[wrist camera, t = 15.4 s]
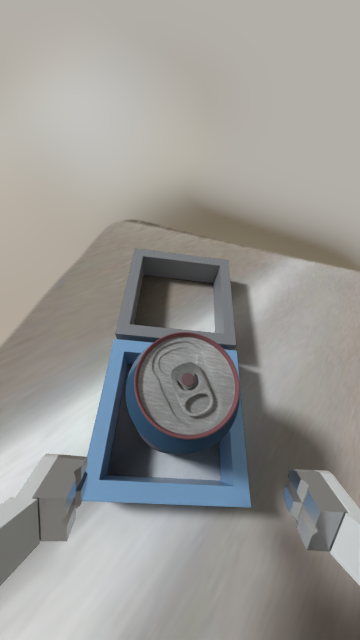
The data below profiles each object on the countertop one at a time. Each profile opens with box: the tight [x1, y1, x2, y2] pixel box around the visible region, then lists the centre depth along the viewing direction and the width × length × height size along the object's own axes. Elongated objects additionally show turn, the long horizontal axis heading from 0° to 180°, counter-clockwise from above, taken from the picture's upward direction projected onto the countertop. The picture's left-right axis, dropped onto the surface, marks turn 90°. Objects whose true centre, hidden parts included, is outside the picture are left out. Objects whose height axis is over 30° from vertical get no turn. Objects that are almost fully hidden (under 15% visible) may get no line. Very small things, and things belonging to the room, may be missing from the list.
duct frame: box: [82, 248, 251, 508], centre depth 24 cm, size 12×25×4 cm, turn 177°
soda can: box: [126, 332, 240, 454], centre depth 17 cm, size 7×7×12 cm
